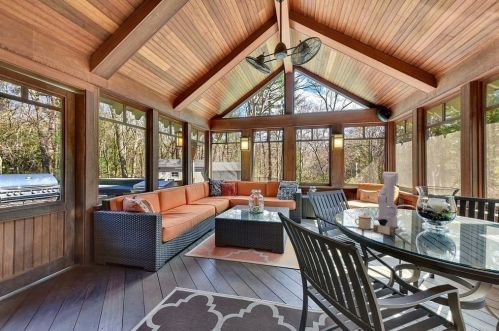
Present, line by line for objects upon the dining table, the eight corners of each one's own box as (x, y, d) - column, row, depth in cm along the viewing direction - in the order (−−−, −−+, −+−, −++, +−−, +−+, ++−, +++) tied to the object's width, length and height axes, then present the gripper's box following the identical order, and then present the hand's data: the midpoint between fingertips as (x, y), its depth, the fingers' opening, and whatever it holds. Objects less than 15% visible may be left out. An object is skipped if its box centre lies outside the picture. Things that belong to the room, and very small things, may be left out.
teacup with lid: (367, 226, 191) (367, 211, 190) (373, 229, 181) (373, 214, 181) (352, 226, 191) (352, 211, 190) (357, 229, 182) (357, 214, 181)
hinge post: (391, 235, 169) (391, 225, 168) (394, 236, 167) (394, 226, 167) (389, 235, 168) (389, 226, 168) (392, 236, 166) (392, 226, 166)
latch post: (374, 230, 178) (374, 224, 178) (377, 231, 176) (377, 225, 176) (373, 231, 178) (373, 224, 177) (376, 232, 175) (376, 225, 175)
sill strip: (375, 230, 179) (375, 230, 179) (389, 234, 169) (389, 234, 169) (374, 230, 178) (374, 230, 178) (388, 235, 168) (388, 234, 168)
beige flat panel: (390, 234, 169) (390, 227, 169) (389, 234, 168) (389, 228, 168) (375, 229, 179) (375, 223, 179) (373, 229, 179) (374, 223, 178)
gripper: (386, 209, 181) (385, 227, 182) (370, 210, 177) (370, 228, 177) (394, 211, 175) (393, 229, 175) (378, 212, 170) (377, 231, 171)
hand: (382, 229), depth 176 cm, fingers closed
